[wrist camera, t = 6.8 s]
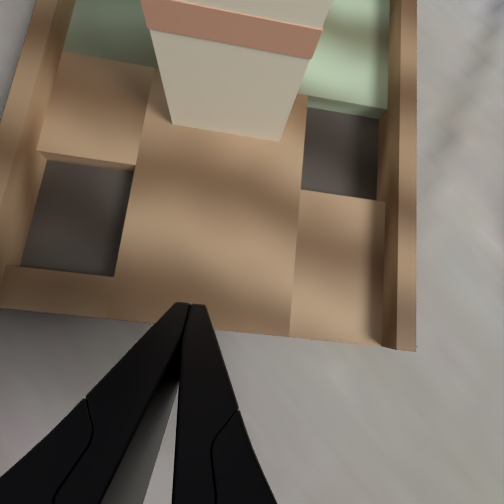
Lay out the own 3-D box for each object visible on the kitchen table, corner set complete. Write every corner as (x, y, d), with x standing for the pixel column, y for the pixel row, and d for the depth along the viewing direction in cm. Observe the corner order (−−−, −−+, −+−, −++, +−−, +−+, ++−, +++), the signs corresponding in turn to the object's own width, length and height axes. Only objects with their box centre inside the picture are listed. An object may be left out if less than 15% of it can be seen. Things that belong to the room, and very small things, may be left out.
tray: (387, 345, 17) (416, 351, 15) (-10, 305, 15) (-54, 304, 13) (394, -35, 22) (416, -78, 20) (99, -102, 20) (82, -158, 18)
